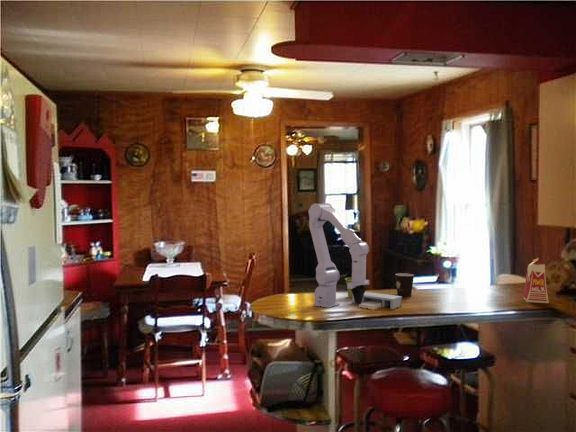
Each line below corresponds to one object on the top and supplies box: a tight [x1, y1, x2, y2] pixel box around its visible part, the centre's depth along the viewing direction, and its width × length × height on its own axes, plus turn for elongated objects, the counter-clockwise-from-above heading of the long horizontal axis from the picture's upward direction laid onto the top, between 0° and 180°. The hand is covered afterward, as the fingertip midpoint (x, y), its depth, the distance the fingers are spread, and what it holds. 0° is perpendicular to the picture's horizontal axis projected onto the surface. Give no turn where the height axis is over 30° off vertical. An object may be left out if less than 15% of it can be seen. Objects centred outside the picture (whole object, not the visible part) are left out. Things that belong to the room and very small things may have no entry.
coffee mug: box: [393, 272, 415, 298], centre depth 272 cm, size 12×9×10 cm
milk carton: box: [523, 257, 549, 304], centre depth 261 cm, size 9×9×20 cm
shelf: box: [351, 291, 403, 310], centre depth 249 cm, size 8×20×4 cm, turn 52°
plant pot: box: [344, 276, 353, 299], centre depth 266 cm, size 9×9×9 cm
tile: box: [358, 300, 383, 310], centre depth 246 cm, size 12×7×2 cm, turn 140°
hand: (358, 303), depth 237 cm, fingers closed
